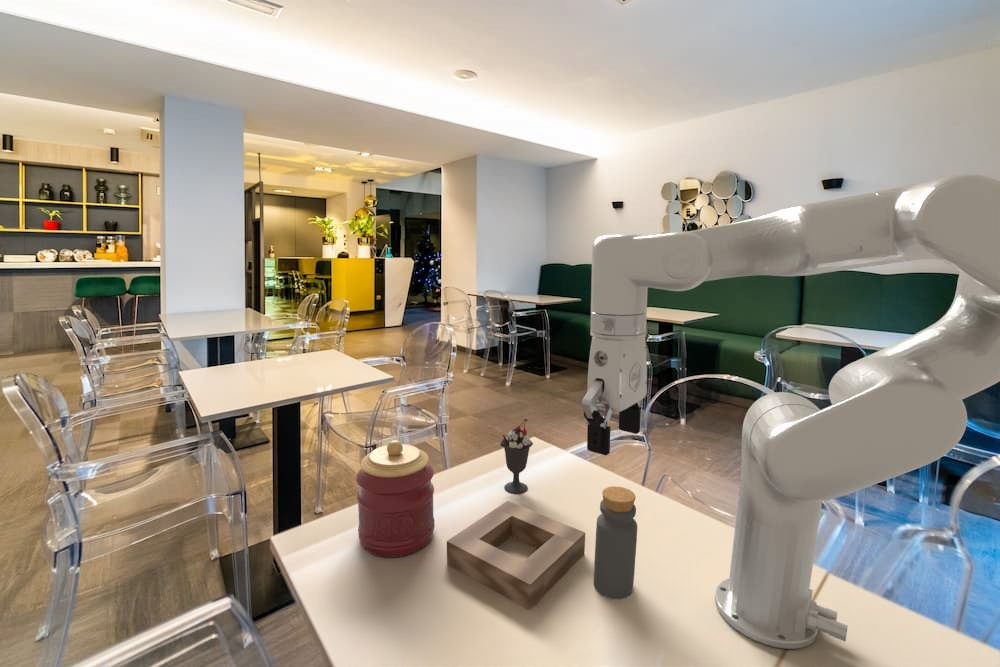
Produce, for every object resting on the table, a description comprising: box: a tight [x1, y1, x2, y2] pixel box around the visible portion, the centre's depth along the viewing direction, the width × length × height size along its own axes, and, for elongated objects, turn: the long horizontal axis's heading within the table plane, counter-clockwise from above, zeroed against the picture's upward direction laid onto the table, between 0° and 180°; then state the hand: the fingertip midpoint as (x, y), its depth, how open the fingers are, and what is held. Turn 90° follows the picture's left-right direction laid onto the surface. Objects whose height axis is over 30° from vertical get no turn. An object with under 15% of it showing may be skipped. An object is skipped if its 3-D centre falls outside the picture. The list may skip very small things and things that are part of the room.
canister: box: [355, 439, 436, 558], centre depth 84 cm, size 13×13×18 cm
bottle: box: [593, 485, 638, 600], centre depth 72 cm, size 6×6×15 cm
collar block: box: [446, 500, 586, 611], centre depth 79 cm, size 16×16×4 cm
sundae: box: [500, 418, 534, 495], centre depth 102 cm, size 7×7×15 cm
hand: (614, 441), depth 71 cm, fingers open, 9 cm apart
